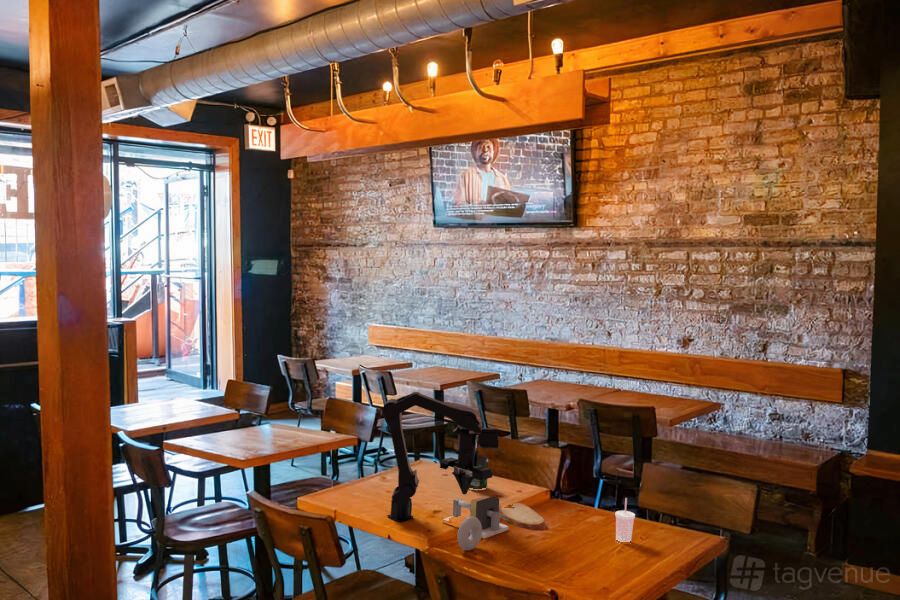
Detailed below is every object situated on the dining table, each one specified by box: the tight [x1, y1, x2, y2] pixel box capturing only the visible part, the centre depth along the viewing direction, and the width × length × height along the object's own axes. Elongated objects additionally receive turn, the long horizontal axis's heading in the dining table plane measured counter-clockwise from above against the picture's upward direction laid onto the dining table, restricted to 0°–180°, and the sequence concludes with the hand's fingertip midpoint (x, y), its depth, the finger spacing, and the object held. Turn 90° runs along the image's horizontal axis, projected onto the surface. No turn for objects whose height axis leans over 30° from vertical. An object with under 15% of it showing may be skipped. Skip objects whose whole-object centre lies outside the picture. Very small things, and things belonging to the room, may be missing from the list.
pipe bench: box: [442, 497, 510, 539], centre depth 246 cm, size 12×18×7 cm, turn 47°
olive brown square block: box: [469, 495, 489, 517], centre depth 245 cm, size 7×3×7 cm, turn 137°
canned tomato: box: [469, 458, 489, 489], centre depth 288 cm, size 8×8×11 cm
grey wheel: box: [456, 516, 482, 552], centre depth 226 cm, size 10×3×10 cm, turn 141°
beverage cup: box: [614, 497, 636, 542], centre depth 239 cm, size 6×6×14 cm
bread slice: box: [499, 502, 547, 531], centre depth 256 cm, size 18×18×4 cm
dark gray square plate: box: [476, 495, 500, 529], centre depth 243 cm, size 8×2×8 cm, turn 137°
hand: (464, 494), depth 250 cm, fingers closed
